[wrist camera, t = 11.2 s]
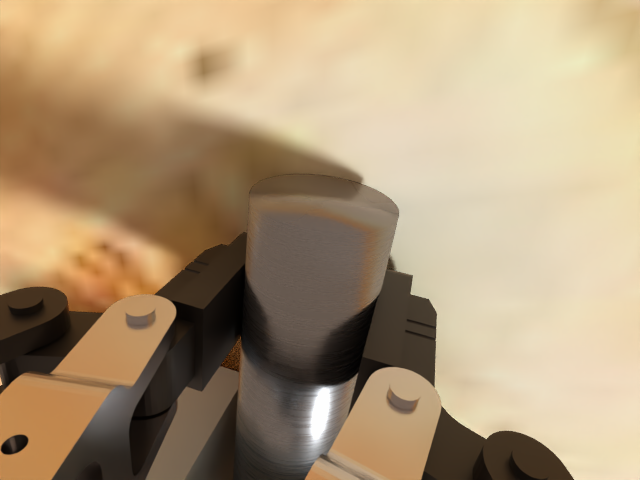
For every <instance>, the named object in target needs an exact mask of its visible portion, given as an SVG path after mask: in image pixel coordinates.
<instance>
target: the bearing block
mask: <svg viewBox="0 0 640 480" xmlns="http://www.w3.org/2000/svg"><path fill="white" fill-rule="evenodd" d="M238 382H239V372H237V371H234V370H231V369H228V368H225V367H222V366H220V367H219V368H218V369H217V371H216V372H215V374H214V375H213V377H212V378H211V380H210V381H209V382H208V384H207V385H206V387H205V388H204V390H203V391H202V392H201V391H198V390H195V389H192V388H189V387H186V388H185V389H184V390H183V392H182V393H181V394H180V396H179V397H178V409H177V412H176V414H175V416H174V418H173V421H172V423H171V425H170V427H169V429H168V432H167V434H166V436H165V438H164V440H163V442H162V445H161V447H160V449H159V451H158V453H157V455H156V458H155V460H154V462H153V464H152V466H151V468H150V471H149V473H148V475H147V477H146V479H145V480H233V466H234V449H235V433H236V416H237V399H238Z"/></svg>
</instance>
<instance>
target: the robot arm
mask: <svg viewBox="0 0 640 480" xmlns="http://www.w3.org/2000/svg"><path fill="white" fill-rule="evenodd" d="M246 246H247V233H246V232H243V233H242V234H240V235H239V236H238V237H237V238H236V239H235V240H234V241H233V242H232V243H231V244H230V245H229V246H226V245H223V244H220V245H218V246H215V247H213V248H210V249H208V250H205V251H204V252H203V253H202V254H200V255H199V256H198V257H197V258H196V259H195V260H194V262H191V263H190V264H189V265H188V266H187V267H186V268H185V270H182V271H181V272H180V273H179V274H178V275H176V276H175V277H174V278H173V279H172V280H171V281H170V282H168V283H167V284H166V285H165V286H164V287H163V288H162V289H160V290H159V291H158V292H157V293H156V294H155V295H135V296H130V297H127V298H124V299H121V300H119V301H117V302H115V303H114V304H112V305H111V306H110V307H109V308H108V309H107V310H106V311H105V312H104V313H92V312H75V311H69V307H68V301H67V297H66V296H65V294H64V293H62V292H61V291H59V290H57V289H53V288H48V287H30V288H24V289H19V290H15V291H12V292H9V293H6V294H3V295H0V377H1V381H2V384H3V385H1V386H0V480H145V479H146V477H147V475H148V473H149V471H150V468H151V466H152V464H153V462H154V460H155V458H156V455H157V453H158V451H159V449H160V447H161V445H162V442H163V440H164V438H165V436H166V434H167V432H168V429H169V427H170V425H171V423H172V421H173V418H174V416H175V414H176V412H177V409H178V397H179V396H180V394H181V393H182V392H183V390H184V389H185V388H186V387H189V388H192V389H195V390H198V391H201V392H202V391H203V390H204V388H205V387H206V385H207V384H208V382H209V381H210V380H211V378H212V377H213V375H214V374H215V372H216V371H217V369H218V368H219V367H220V365H221V364H222V362H223V361H224V359H225V358H226V356H227V355H228V354H229V352H230V351H231V349H232V348H233V346H234V345H235V343H236V342H237V341H238V339H239V338H240V336H241V331H242V314H243V297H244V280H245V263H246ZM412 278H413V275H409V274H405V273H401V272H397V271H393V270H389V269H386V272H385V276H384V280H383V285H382V289H381V291H380V293H379V295H378V299H377V302H376V306H375V310H374V314H373V318H372V321H371V325H370V329H369V333H368V337H367V340H366V344H365V348H364V352H363V355H362V359H361V364H360V368H359V372H358V376H357V380H356V384H355V388H354V392H353V396H352V400H351V404H350V408H349V412H348V416H347V419H346V421H345V423H344V425H343V427H342V428H341V430H340V432H339V434H338V436H337V438H336V440H335V441H334V443H333V445H332V447H331V449H330V450H329V452H328V454H327V455H324V454H321V455H320V456H319V457H318V458H317V460H316V461H315V463H314V464H313V466H312V468H311V469H310V471H309V473H308V475H307V476H306V478H305V480H574V479H573V477H572V476H571V474H570V473H569V472H568V470H567V469H566V467H565V466H564V464H563V463H562V462H561V461H560V459H559V458H558V457H557V456H556V455H555V454H554V453H553V452H552V451H551V450H549V449H548V448H547V447H546V446H544V445H543V444H541V443H540V442H538V441H537V440H535V439H533V438H531V437H529V436H527V435H524V434H521V433H518V432H513V431H499V432H496V433H493V434H492V435H490V436H489V437H488V438H487V439H485V438H483V437H481V436H480V435H478V434H476V433H475V432H473V431H471V430H470V429H468V428H466V427H465V426H463V425H462V424H460V423H458V422H457V421H456V420H455V419H454V418H452V417H451V416H450V415H449V414H448V413H447V412H446V410H445V409H444V408H443V407H442V405H441V400H440V397H439V395H438V393H437V391H436V389H435V386H434V383H435V351H436V341H435V340H436V320H437V313H436V311H435V309H434V308H433V306H432V304H431V302H430V301H429V299H426V298H422V297H418V296H414V295H410V292H411V285H412Z"/></svg>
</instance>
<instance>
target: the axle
mask: <svg viewBox="0 0 640 480" xmlns="http://www.w3.org/2000/svg"><path fill="white" fill-rule="evenodd" d="M398 217H399V209H398V207H397V205H396V204H395V203H394V202H393V201H392V200H391V199H390V198H389V197H387V196H386V195H384V194H383V193H381V192H379V191H377V190H375V189H373V188H371V187H368V186H366V185H363V184H360V183H357V182H353V181H350V180H346V179H341V178H336V177H331V176H323V175H313V174H289V175H280V176H275V177H270V178H267V179H264V180H262V181H260V182H258V183H256V184H255V185H254V186H253V187H252V188H251V190H250V195H249V212H248V229H247V246H246V263H245V280H244V297H243V314H242V331H241V348H240V365H239V382H238V399H237V416H236V433H235V449H234V466H233V480H305V478H306V476H307V475H308V473H309V471H310V469H311V468H312V466H313V464H314V463H315V461H316V460H317V458H318V457H319V456H320V455H321V454H324V455H327V454H328V452H329V450H330V449H331V447H332V445H333V443H334V441H335V440H336V438H337V436H338V434H339V432H340V430H341V428H342V427H343V425H344V423H345V421H346V419H347V416H348V412H349V408H350V404H351V400H352V396H353V392H354V388H355V384H356V380H357V376H358V372H359V368H360V364H361V359H362V355H363V352H364V348H365V344H366V340H367V337H368V333H369V329H370V325H371V321H372V318H373V314H374V310H375V306H376V302H377V299H378V295H379V293H380V291H381V289H382V285H383V280H384V276H385V272H386V268H387V264H388V259H389V255H390V251H391V247H392V242H393V238H394V234H395V230H396V225H397V221H398Z"/></svg>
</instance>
